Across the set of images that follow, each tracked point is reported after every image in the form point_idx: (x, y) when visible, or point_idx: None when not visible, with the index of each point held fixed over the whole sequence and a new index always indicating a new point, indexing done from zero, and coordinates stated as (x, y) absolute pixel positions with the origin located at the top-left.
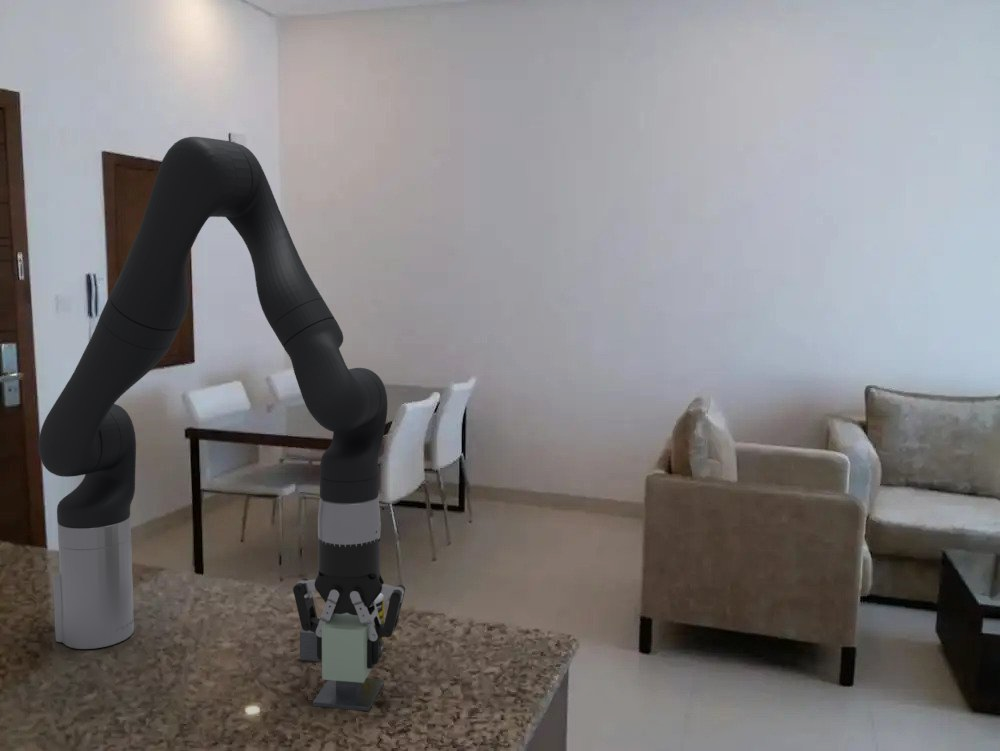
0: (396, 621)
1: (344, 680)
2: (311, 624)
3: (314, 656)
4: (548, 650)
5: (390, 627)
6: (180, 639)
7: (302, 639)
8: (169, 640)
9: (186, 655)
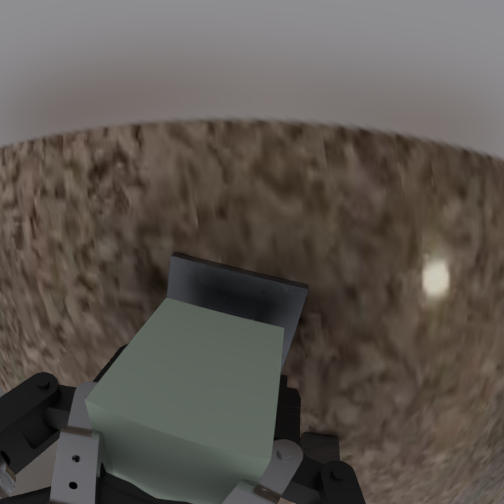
0: (33, 418)
1: (218, 313)
2: (318, 481)
3: (311, 440)
4: (4, 374)
5: (23, 389)
6: (485, 454)
7: None
8: (496, 449)
9: (492, 427)
